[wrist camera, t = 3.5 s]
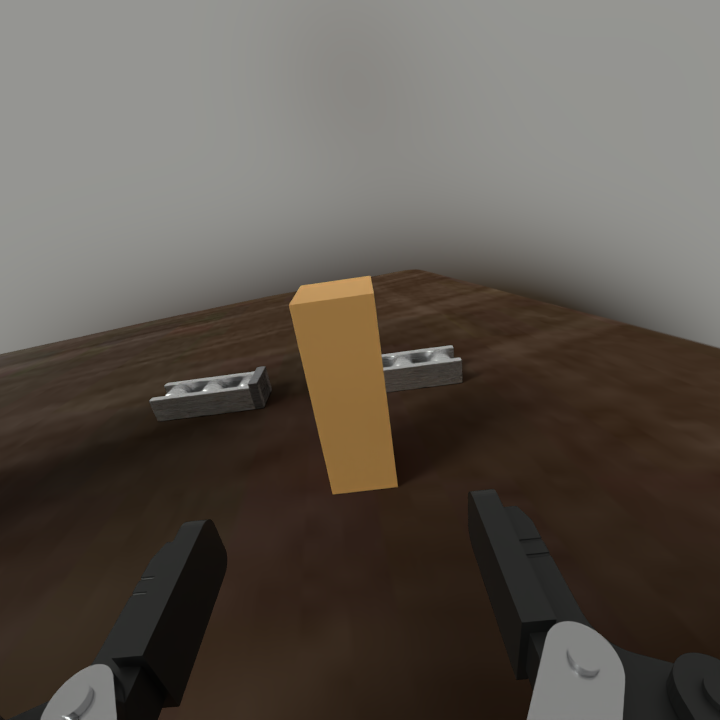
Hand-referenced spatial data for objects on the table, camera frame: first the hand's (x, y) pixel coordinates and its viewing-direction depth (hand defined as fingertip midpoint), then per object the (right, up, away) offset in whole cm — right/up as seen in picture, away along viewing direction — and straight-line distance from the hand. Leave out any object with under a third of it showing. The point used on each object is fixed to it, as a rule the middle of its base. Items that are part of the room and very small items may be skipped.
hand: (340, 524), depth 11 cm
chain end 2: (+5, +3, +22) cm, 23 cm away
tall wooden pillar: (+1, -2, +12) cm, 12 cm away
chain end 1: (-13, +1, +23) cm, 26 cm away
